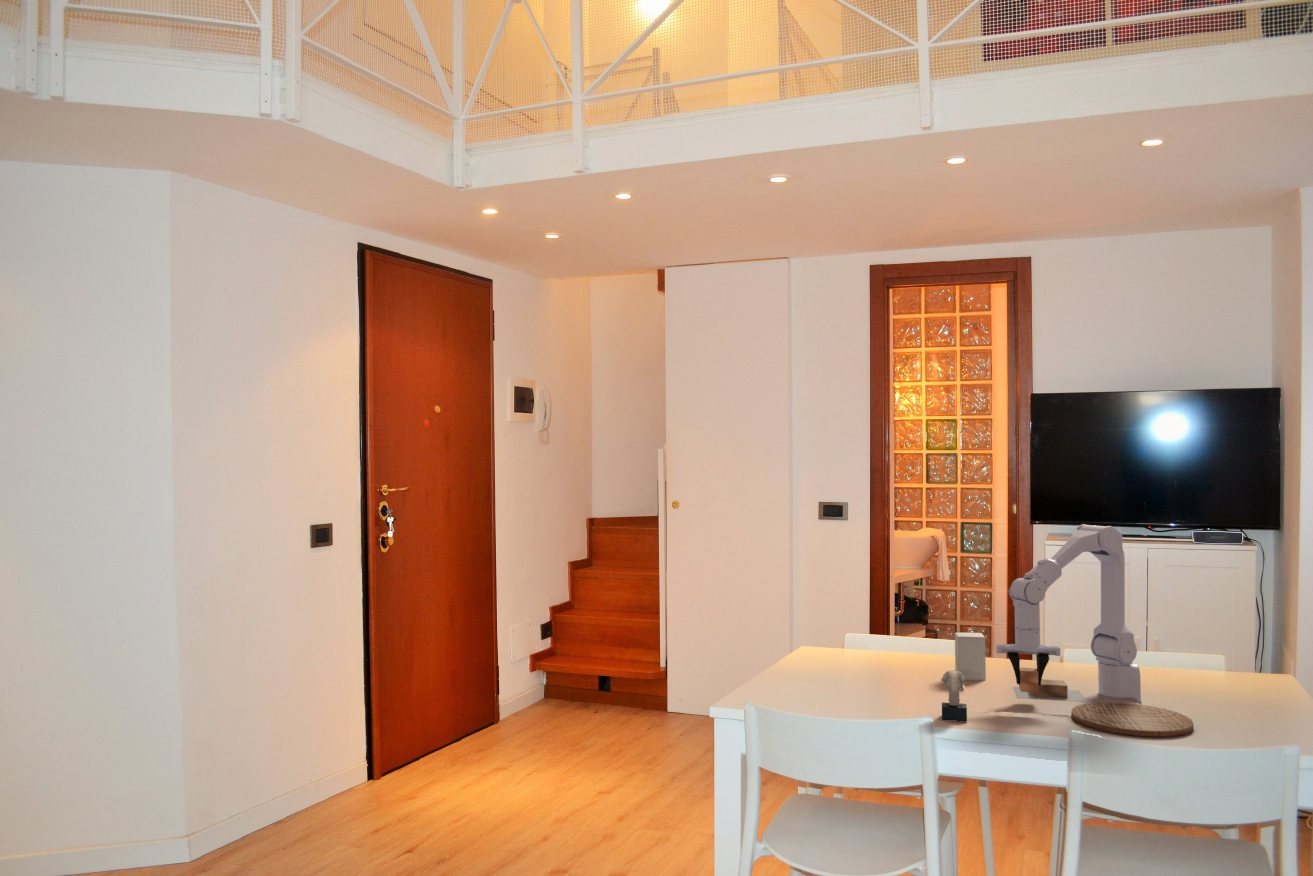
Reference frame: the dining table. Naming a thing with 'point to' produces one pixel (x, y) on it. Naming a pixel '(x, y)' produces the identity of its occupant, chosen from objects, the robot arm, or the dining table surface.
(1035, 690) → the terracotta block
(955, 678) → the watch
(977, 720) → the dining table surface
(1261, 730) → the dining table surface
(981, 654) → the supplement box
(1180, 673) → the dining table surface
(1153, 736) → the trivet
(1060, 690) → the brown block
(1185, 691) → the dining table surface
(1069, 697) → the plate
